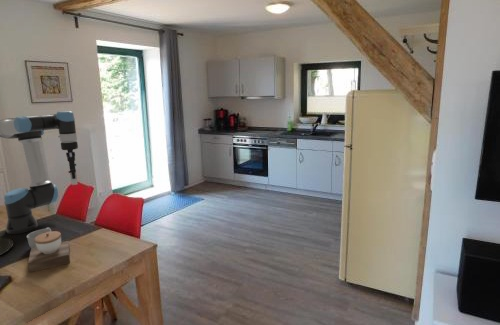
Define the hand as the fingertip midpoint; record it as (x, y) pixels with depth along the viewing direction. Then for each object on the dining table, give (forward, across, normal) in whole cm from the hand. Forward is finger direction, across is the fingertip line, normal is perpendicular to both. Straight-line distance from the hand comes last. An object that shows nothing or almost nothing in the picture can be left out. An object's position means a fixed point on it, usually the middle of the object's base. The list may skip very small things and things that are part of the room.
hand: (74, 181), depth 169 cm
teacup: (+33, -1, -18) cm, 38 cm away
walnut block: (+33, +18, -14) cm, 40 cm away
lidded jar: (+28, +18, -14) cm, 36 cm away
